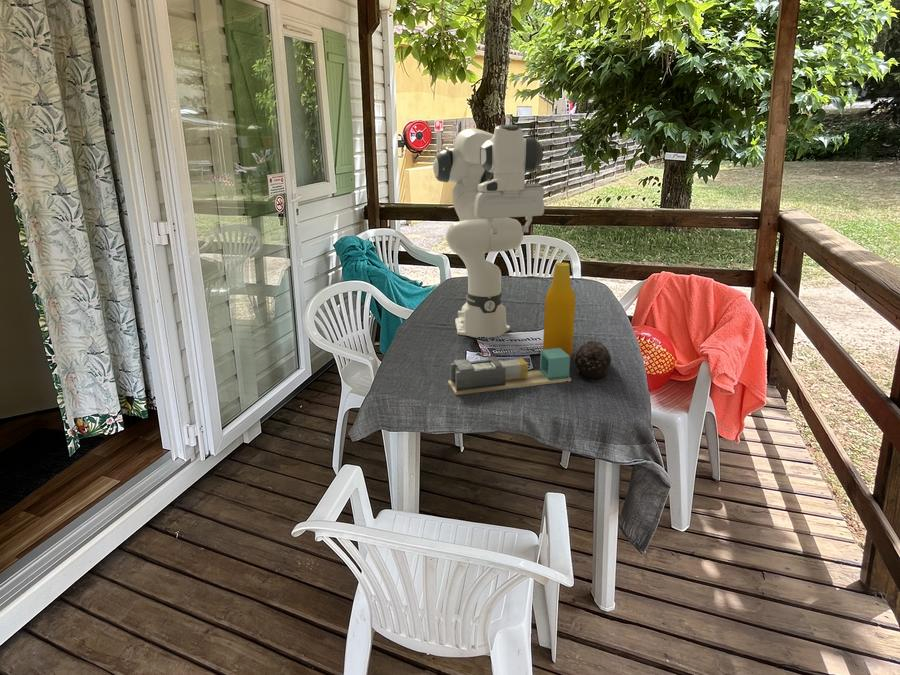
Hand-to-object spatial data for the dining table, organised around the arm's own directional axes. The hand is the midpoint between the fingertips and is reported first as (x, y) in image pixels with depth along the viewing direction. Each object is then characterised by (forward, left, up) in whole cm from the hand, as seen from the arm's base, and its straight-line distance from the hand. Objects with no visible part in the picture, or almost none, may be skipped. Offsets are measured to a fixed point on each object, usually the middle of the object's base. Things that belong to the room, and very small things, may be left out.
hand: (509, 233), depth 183 cm
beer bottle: (+2, +16, -39) cm, 42 cm away
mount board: (+18, -5, -39) cm, 43 cm away
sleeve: (+18, -15, -39) cm, 45 cm away
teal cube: (+18, +8, -39) cm, 44 cm away
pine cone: (+17, +20, -39) cm, 47 cm away
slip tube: (+18, -11, -37) cm, 43 cm away
